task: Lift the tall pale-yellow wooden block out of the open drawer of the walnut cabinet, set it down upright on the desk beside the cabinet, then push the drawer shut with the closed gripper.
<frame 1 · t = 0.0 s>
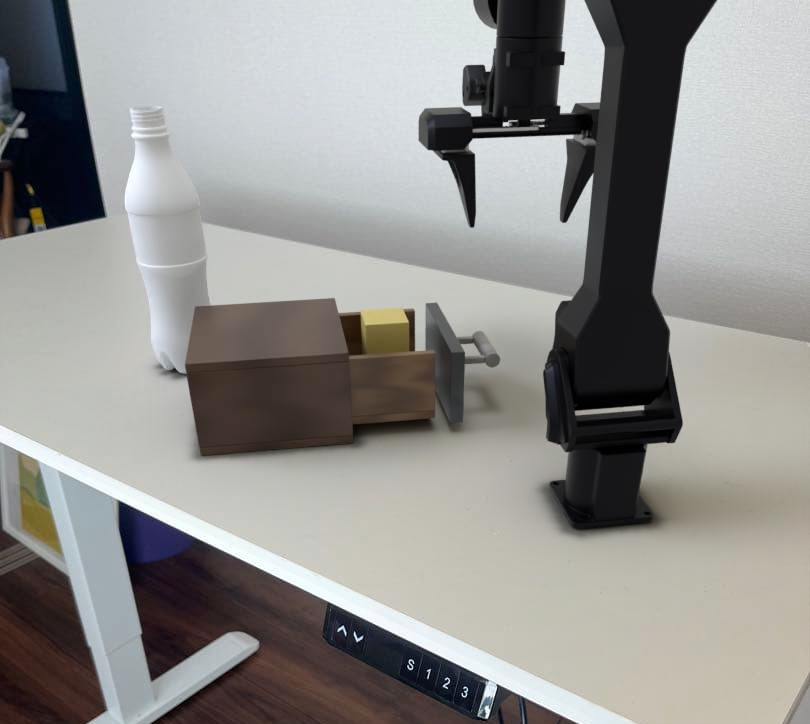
hand: (517, 224, 80), 15 cm above the table, tool pointing down, fingers open, 9 cm apart
drawer: (406, 362, 78), point 4 cm above the table, slide at 9.0 cm, touching block
cabinet: (276, 414, 79), on the table
block: (386, 386, 79), point 2 cm above the table, touching drawer
water bottle: (190, 366, 89), on the table
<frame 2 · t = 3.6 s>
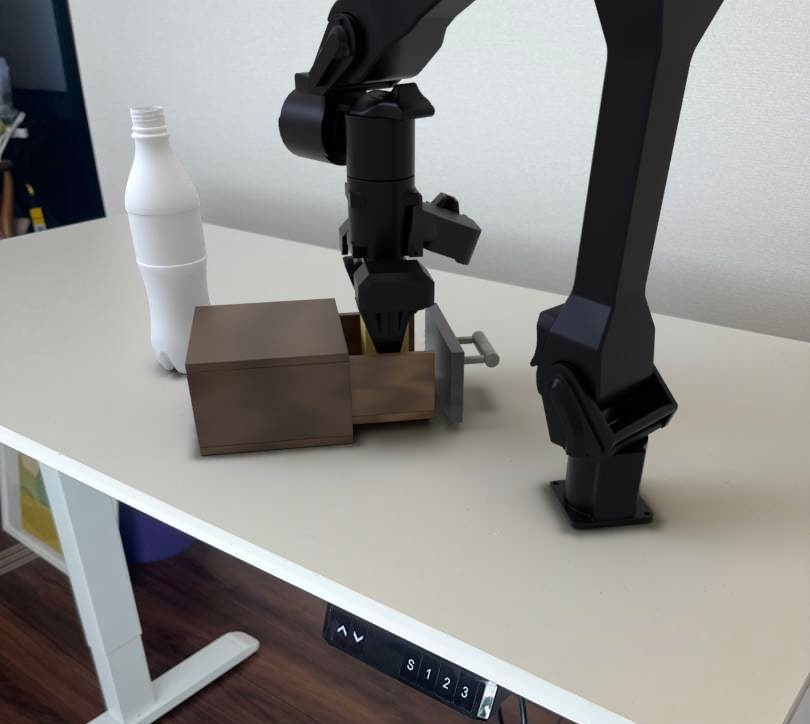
hand: (384, 351, 77), 5 cm above the table, tool pointing down, fingers open, 8 cm apart
drawer: (406, 362, 78), point 4 cm above the table, slide at 8.9 cm, touching block, gripper
everything else where it was.
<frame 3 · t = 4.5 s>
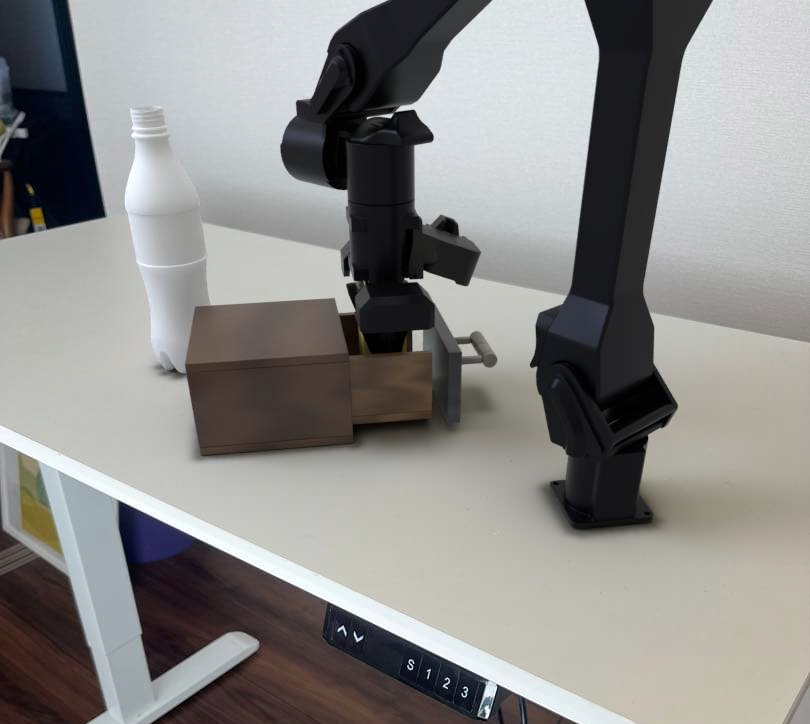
hand: (385, 371, 78), 4 cm above the table, tool pointing down, fingers closed on block, 4 cm apart
drawer: (404, 362, 78), point 4 cm above the table, slide at 8.7 cm, touching block
block: (383, 386, 79), point 2 cm above the table, touching drawer, gripper
everything else where it was.
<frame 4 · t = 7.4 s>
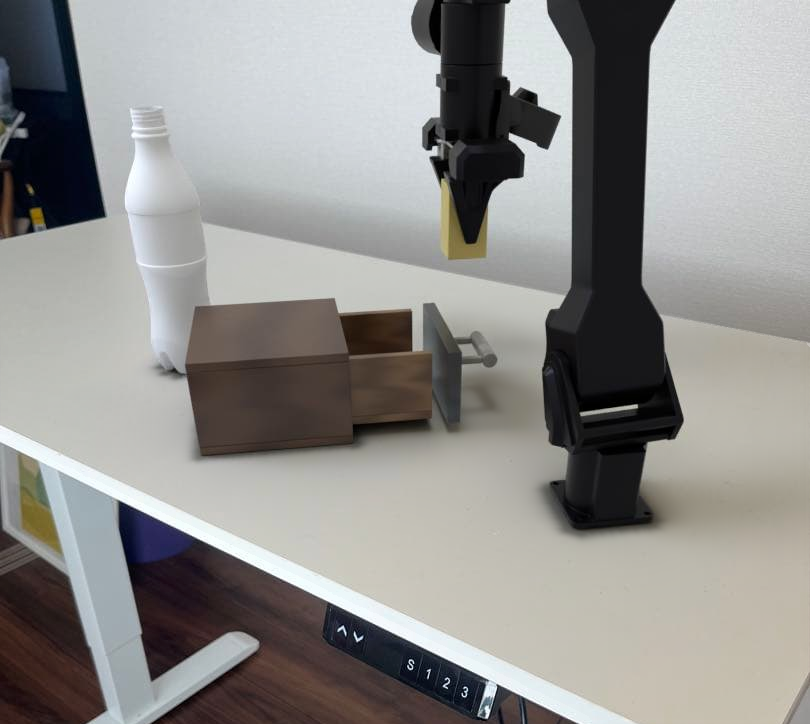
hand: (466, 238, 84), 12 cm above the table, tool pointing down, fingers closed on block, 4 cm apart
drawer: (404, 362, 78), point 4 cm above the table, slide at 8.7 cm
block: (462, 253, 85), point 11 cm above the table, touching gripper
everything else where it was.
when the fingers open (2 cm above the table, at t = 10.2 s): block stays where it is, on the table.
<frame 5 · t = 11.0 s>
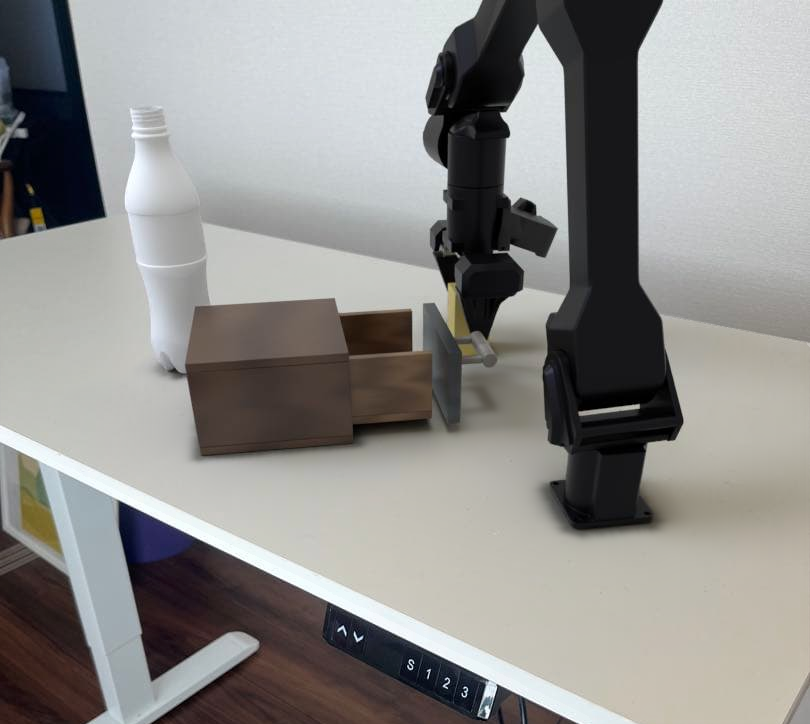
hand: (470, 332, 91), 2 cm above the table, tool pointing down, fingers open, 9 cm apart
block: (467, 349, 92), on the table
everything else where it was.
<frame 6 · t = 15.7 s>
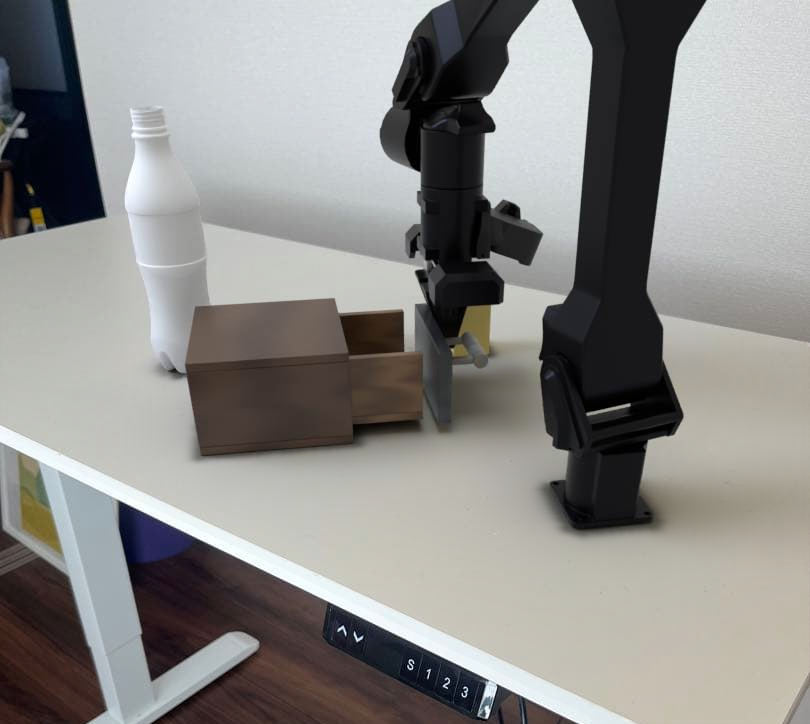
hand: (448, 347, 83), 4 cm above the table, tool pointing down, fingers closed, pressing on drawer
drawer: (395, 363, 78), point 4 cm above the table, slide at 7.9 cm, touching gripper
everything else where it was.
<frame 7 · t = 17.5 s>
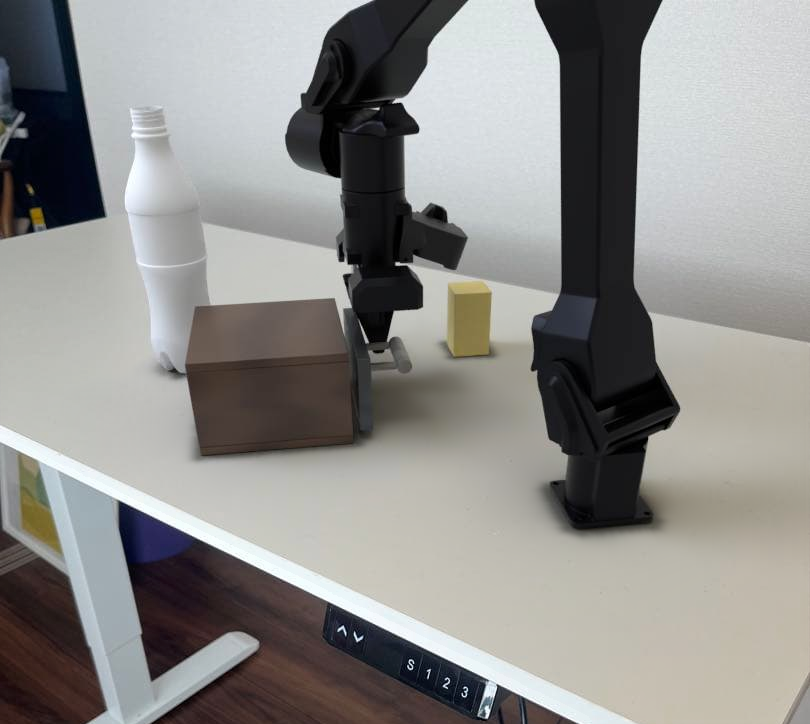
hand: (378, 352, 82), 4 cm above the table, tool pointing down, fingers closed, pressing on drawer
drawer: (319, 368, 77), point 4 cm above the table, slide at 0.7 cm, touching gripper
everything else where it was.
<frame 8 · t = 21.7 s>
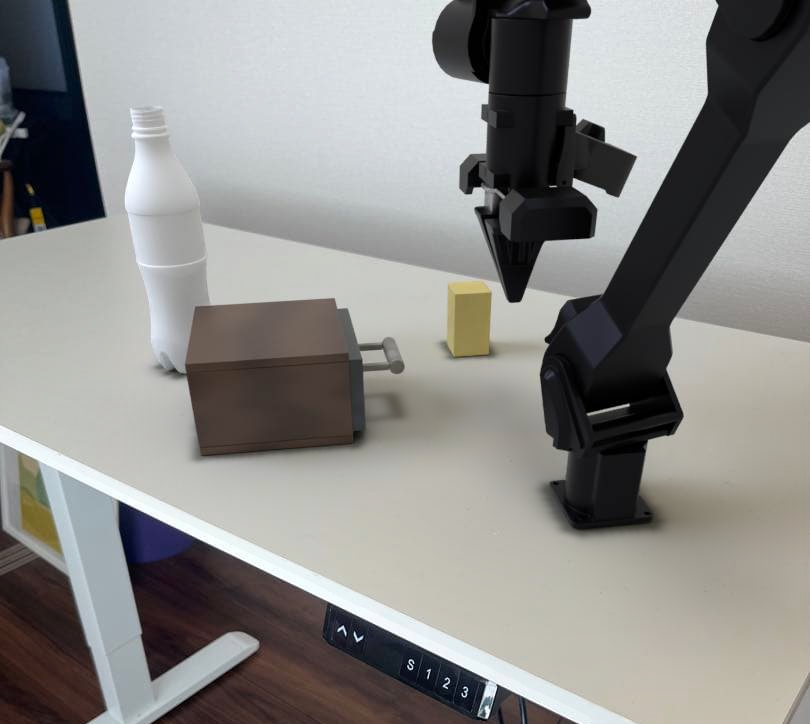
hand: (513, 301, 69), 12 cm above the table, tool pointing down, fingers closed
drawer: (312, 369, 77), point 4 cm above the table, slide at 0.0 cm
everything else where it was.
at the end: block inside the target area (0.3 cm from its centre), on the table; block tilted 0°; drawer slide at 0.0 cm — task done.
